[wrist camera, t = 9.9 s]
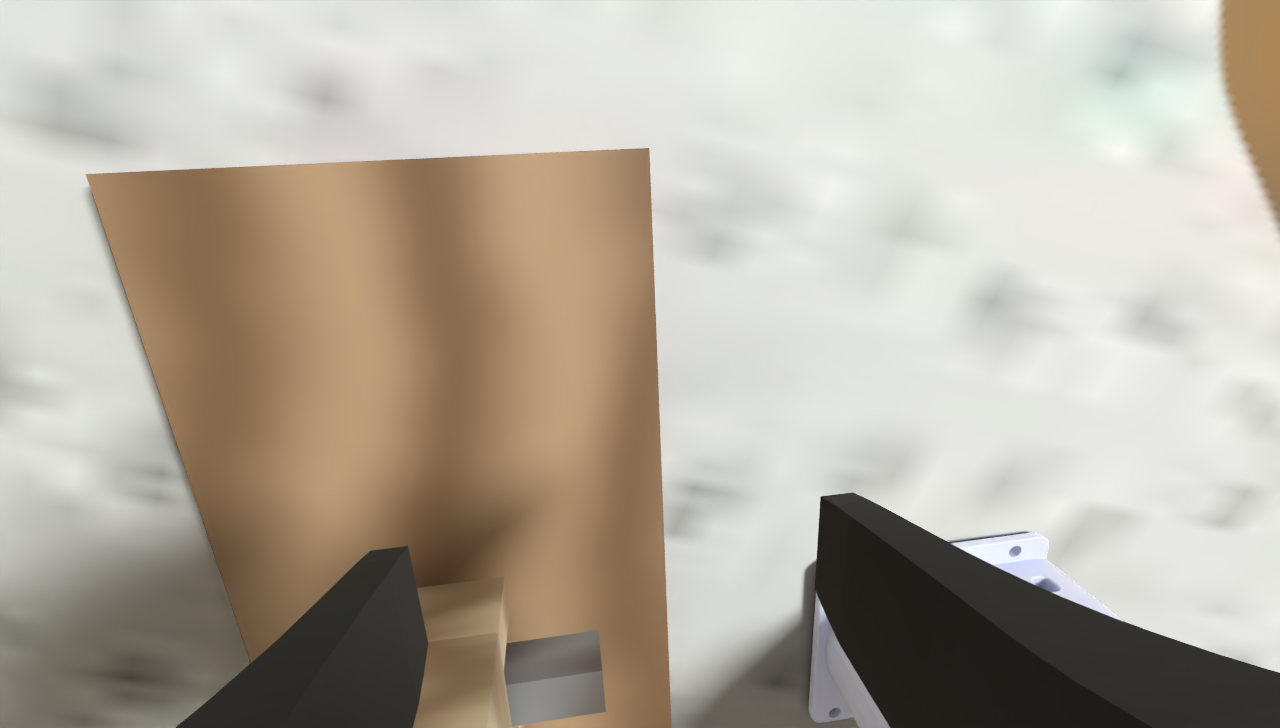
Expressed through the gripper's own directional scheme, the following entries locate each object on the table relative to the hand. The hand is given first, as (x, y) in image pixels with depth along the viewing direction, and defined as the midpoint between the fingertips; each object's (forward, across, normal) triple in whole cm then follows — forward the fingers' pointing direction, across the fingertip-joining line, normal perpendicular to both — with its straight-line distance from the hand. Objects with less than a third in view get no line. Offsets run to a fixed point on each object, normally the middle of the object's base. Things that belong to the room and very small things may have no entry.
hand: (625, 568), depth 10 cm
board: (+9, +5, +5) cm, 12 cm away
